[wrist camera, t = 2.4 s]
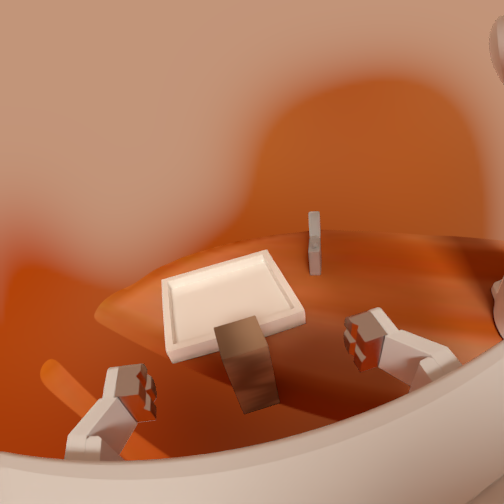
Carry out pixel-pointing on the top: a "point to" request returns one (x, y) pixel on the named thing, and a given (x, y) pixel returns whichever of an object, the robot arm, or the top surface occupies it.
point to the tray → (226, 303)
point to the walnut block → (248, 363)
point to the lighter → (314, 243)
